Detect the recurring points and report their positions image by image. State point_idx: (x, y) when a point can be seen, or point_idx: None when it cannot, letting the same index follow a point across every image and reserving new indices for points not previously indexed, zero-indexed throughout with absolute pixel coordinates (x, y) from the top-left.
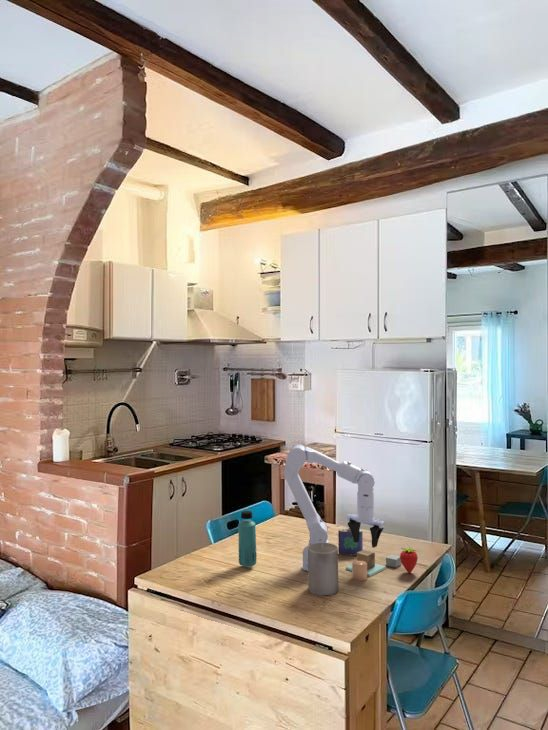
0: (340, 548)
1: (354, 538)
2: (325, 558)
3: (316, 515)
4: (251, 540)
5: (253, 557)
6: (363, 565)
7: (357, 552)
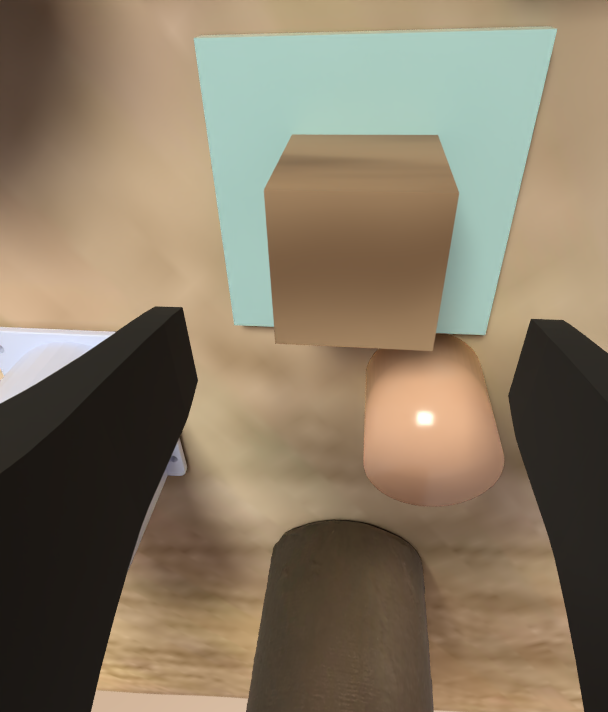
0: None
1: (170, 437)
2: None
3: None
4: None
5: None
6: (486, 482)
7: (276, 333)
